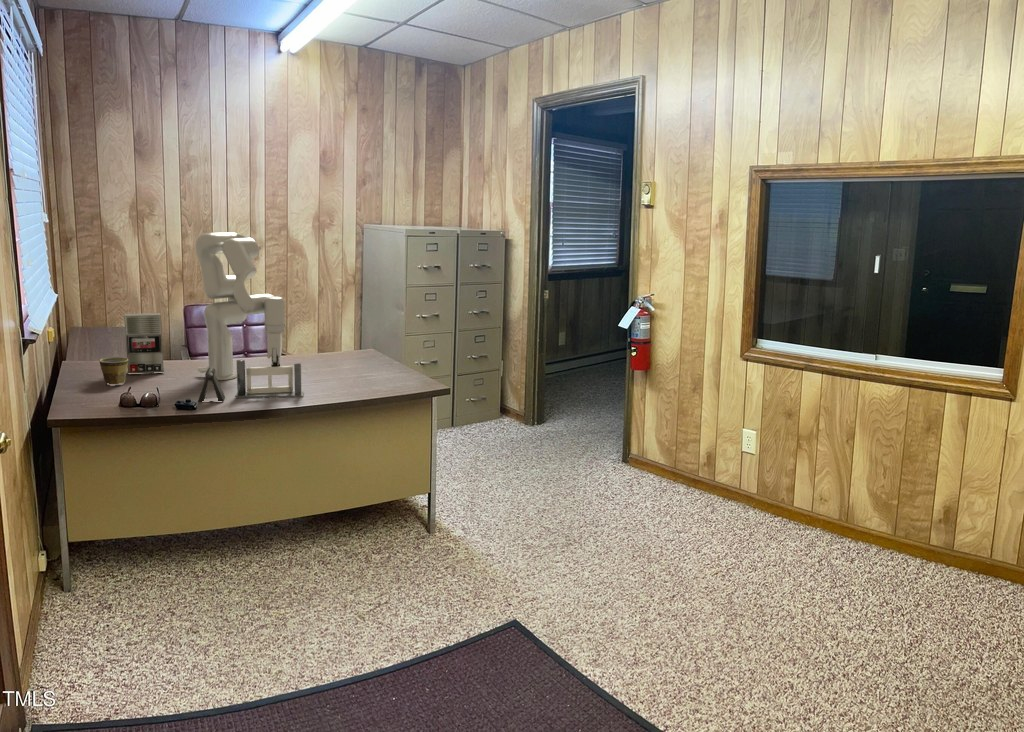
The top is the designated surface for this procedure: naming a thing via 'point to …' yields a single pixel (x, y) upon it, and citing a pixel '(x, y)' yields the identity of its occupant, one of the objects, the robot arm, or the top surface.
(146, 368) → the cassette tape recorder
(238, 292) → the robot arm
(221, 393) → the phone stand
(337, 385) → the top surface
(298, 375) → the gate frame
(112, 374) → the ceramic cup
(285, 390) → the gate
